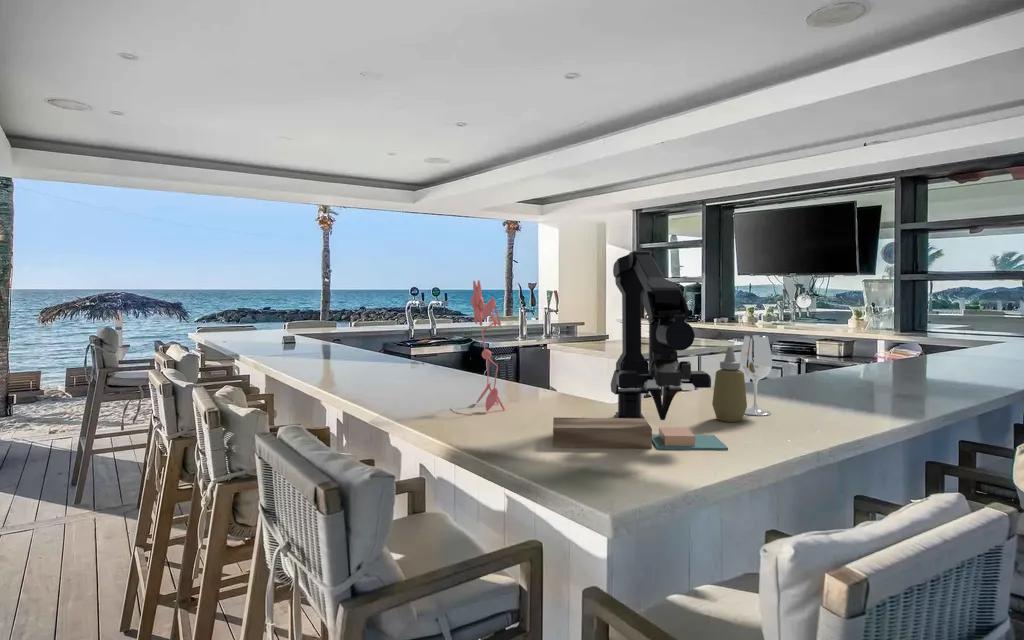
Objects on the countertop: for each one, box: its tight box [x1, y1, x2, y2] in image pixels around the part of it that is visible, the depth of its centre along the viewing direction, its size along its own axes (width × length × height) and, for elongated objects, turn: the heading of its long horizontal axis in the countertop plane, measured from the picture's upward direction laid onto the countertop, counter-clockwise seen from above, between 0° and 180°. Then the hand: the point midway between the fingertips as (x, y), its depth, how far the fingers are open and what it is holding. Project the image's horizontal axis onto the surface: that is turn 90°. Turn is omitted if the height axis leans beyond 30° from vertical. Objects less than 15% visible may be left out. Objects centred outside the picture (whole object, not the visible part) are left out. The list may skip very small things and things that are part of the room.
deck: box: [552, 417, 653, 449], centre depth 130 cm, size 10×20×4 cm, turn 86°
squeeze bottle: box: [711, 346, 748, 423], centre depth 150 cm, size 8×8×18 cm
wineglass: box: [739, 334, 773, 417], centre depth 158 cm, size 8×8×20 cm
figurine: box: [452, 279, 506, 416], centre depth 166 cm, size 15×26×35 cm, turn 12°
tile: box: [658, 426, 695, 446], centre depth 129 cm, size 8×6×2 cm
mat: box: [652, 433, 729, 451], centre depth 129 cm, size 11×14×1 cm
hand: (662, 419), depth 129 cm, fingers closed
